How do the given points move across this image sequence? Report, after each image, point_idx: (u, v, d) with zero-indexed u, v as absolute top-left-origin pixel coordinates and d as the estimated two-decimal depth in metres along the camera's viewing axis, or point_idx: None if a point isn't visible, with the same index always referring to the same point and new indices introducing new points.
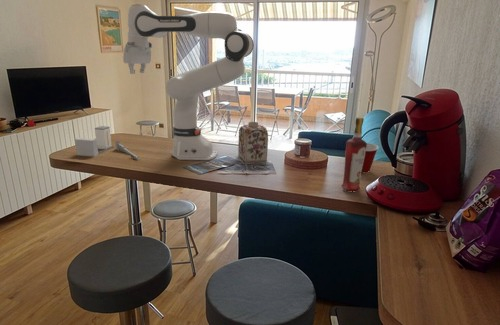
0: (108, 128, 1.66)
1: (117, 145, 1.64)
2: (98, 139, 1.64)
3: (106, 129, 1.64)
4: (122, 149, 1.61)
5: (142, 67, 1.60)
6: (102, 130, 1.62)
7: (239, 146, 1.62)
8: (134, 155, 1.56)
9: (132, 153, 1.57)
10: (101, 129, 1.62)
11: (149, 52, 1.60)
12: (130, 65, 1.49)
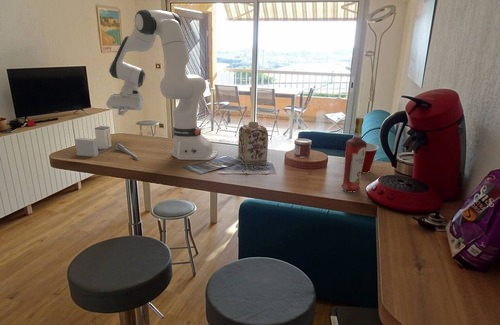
0: (108, 128, 1.66)
1: (117, 145, 1.64)
2: (98, 139, 1.64)
3: (106, 129, 1.64)
4: (122, 149, 1.61)
5: None
6: (102, 130, 1.62)
7: (239, 146, 1.62)
8: (134, 155, 1.56)
9: (132, 153, 1.57)
10: (101, 129, 1.62)
11: (137, 98, 1.82)
12: None
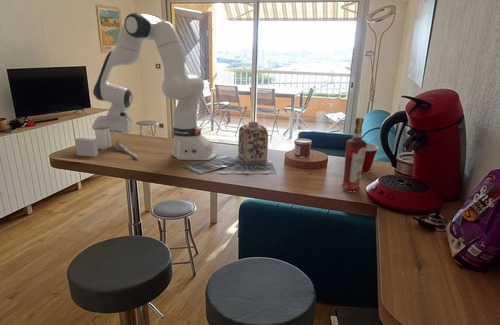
0: (108, 128, 1.66)
1: (117, 145, 1.64)
2: (98, 139, 1.64)
3: (106, 129, 1.64)
4: (122, 149, 1.61)
5: None
6: (102, 130, 1.62)
7: (239, 146, 1.62)
8: (134, 155, 1.56)
9: (132, 153, 1.57)
10: (101, 129, 1.62)
11: (125, 121, 1.71)
12: None
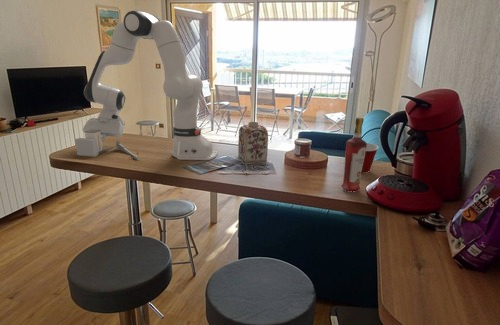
0: (99, 131, 1.59)
1: (117, 145, 1.64)
2: None
3: (97, 132, 1.57)
4: (122, 149, 1.61)
5: None
6: (92, 133, 1.55)
7: (239, 146, 1.62)
8: (134, 155, 1.56)
9: (132, 153, 1.57)
10: (91, 132, 1.55)
11: (117, 124, 1.64)
12: None
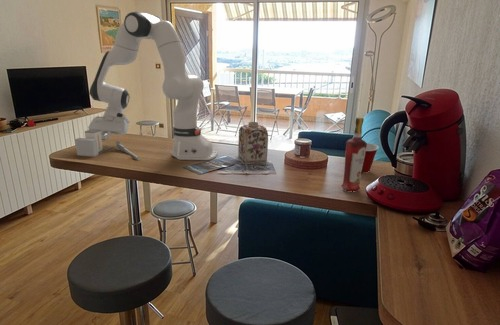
0: (99, 131, 1.59)
1: (117, 145, 1.64)
2: None
3: (97, 132, 1.57)
4: (122, 149, 1.61)
5: None
6: (92, 133, 1.55)
7: (239, 146, 1.62)
8: (134, 155, 1.56)
9: (132, 153, 1.57)
10: (91, 132, 1.55)
11: (122, 122, 1.68)
12: None
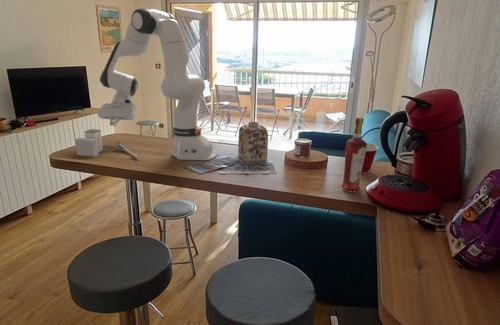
0: (99, 131, 1.59)
1: (118, 145, 1.64)
2: None
3: (97, 132, 1.57)
4: (122, 149, 1.61)
5: None
6: (92, 133, 1.55)
7: (239, 146, 1.62)
8: (134, 155, 1.56)
9: (132, 153, 1.57)
10: (91, 132, 1.55)
11: (129, 108, 1.75)
12: None
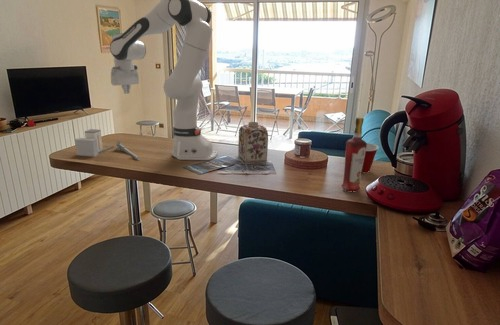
0: (99, 131, 1.59)
1: (118, 145, 1.64)
2: None
3: (97, 132, 1.57)
4: (123, 149, 1.61)
5: (127, 88, 1.76)
6: (92, 133, 1.55)
7: (239, 146, 1.62)
8: (134, 155, 1.56)
9: (133, 153, 1.57)
10: (91, 132, 1.55)
11: (136, 74, 1.80)
12: (123, 86, 1.72)
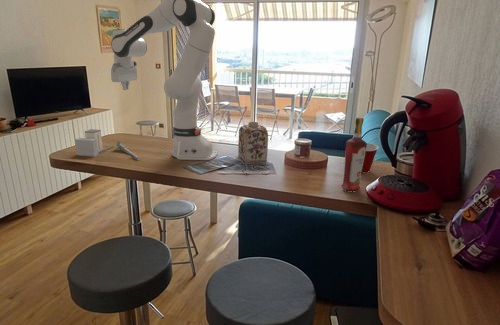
0: (99, 131, 1.59)
1: (118, 145, 1.64)
2: None
3: (97, 132, 1.57)
4: (123, 149, 1.61)
5: (126, 84, 1.75)
6: (92, 133, 1.55)
7: (239, 146, 1.62)
8: (135, 155, 1.56)
9: (133, 153, 1.57)
10: (91, 132, 1.55)
11: (135, 70, 1.79)
12: (122, 83, 1.71)
